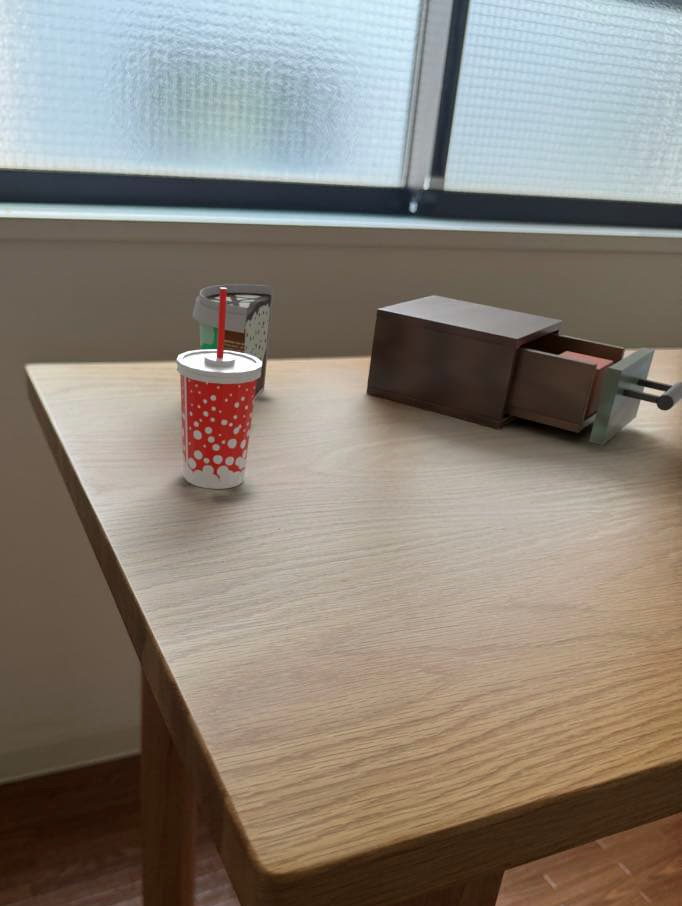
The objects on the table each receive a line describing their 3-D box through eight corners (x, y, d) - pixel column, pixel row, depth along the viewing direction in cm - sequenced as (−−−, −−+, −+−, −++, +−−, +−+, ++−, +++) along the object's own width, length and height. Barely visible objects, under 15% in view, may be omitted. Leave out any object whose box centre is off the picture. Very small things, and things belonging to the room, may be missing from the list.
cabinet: (544, 402, 90) (563, 320, 86) (498, 429, 80) (517, 338, 77) (421, 371, 97) (433, 295, 93) (365, 393, 88) (377, 308, 84)
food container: (209, 377, 88) (214, 278, 84) (267, 385, 87) (274, 285, 83) (172, 411, 77) (175, 300, 73) (238, 421, 76) (245, 308, 72)
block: (601, 407, 83) (614, 360, 81) (587, 417, 79) (599, 369, 77) (555, 396, 85) (566, 350, 83) (539, 405, 82) (550, 358, 80)
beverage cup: (269, 485, 64) (284, 295, 58) (196, 498, 61) (204, 298, 54) (229, 457, 68) (239, 278, 62) (159, 468, 65) (163, 280, 59)
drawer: (681, 428, 82) (702, 359, 79) (651, 458, 74) (674, 382, 71) (507, 386, 91) (520, 322, 88) (463, 408, 83) (476, 338, 79)
